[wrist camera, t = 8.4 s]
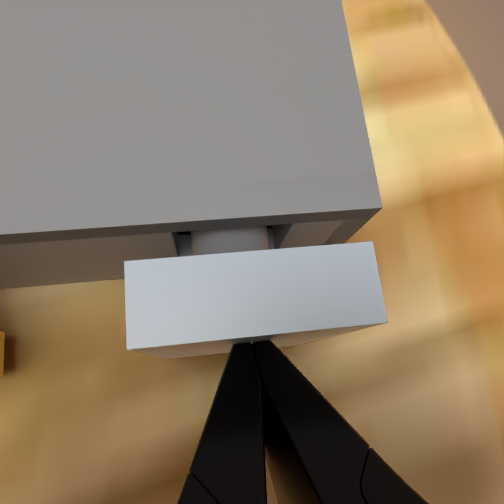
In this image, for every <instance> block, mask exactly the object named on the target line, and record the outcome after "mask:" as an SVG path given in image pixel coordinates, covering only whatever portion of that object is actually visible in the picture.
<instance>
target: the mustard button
mask: <svg viewBox="0 0 504 504" xmlns="http://www.w3.org/2000/svg"><path fill="white" fill-rule="evenodd" d="M4 341H5V332H2V331H0V378H3V366H4Z"/></svg>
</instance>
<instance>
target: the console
mask: <svg viewBox="0 0 504 504" xmlns="http://www.w3.org/2000/svg"><path fill="white" fill-rule="evenodd" d="M381 208H382V204H381V198H380V193H379V188H378V183H377V178H376V173H375V168H374V163H373V158H372V153H371V148H370V143H369V138H368V133H367V128H366V123H365V118H364V113H363V108H362V103H361V98H360V93H359V88H358V83H357V77H356V72H355V67H354V62H353V57H352V52H351V47H350V42H349V37H348V32H347V27H346V22H345V17H344V12H343V7H342V2H341V0H0V289H5V288H17V287H29V286H40V285H52V284H64V283H76V282H88V281H99V280H111V279H123V278H125V275H124V261H133V260H145V259H158V258H170V257H183V256H192V243H191V234H187V235H178V234H177V232H184V231H198V230H211V229H225V228H239V227H253V226H266V225H273V227H272V228H268V229H267V236H268V244H269V250H271V249H283V248H296V247H308V246H321V245H333V244H344V243H345V242H346V241H347V240H348V239H349V238H350V237H351V236H352V235H354V234H355V233H356V232H357V231H358V230H359V229H360V228H361V227H362V226H363V225H364V224H365V223H366V222H368V221H369V220H370V219H371V218H372V217H373V216H374V215H375V214H376V213H377V212H378V211H379V210H380V209H381Z"/></svg>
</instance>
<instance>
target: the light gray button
mask: <svg viewBox="0 0 504 504" xmlns="http://www.w3.org/2000/svg"><path fill="white" fill-rule="evenodd" d="M191 243H192V256H183V257H170V258H158V259H145V260H133V261H124V275H125V307H126V338H127V350H131V351H136V352H141V353H145V354H150V355H155V356H160V357H164V358H169V359H175V358H184V357H193V356H203V355H212V354H221V353H230V351H231V348H232V346H233V344H237V343H246V342H250V343H251V344H252V343H253V342H256V341H265V340H270V341H272V342H273V343H274V344H275V346H276V347H286V346H295V345H301V344H305V343H309V342H313V341H316V340H320V339H324V338H328V337H332V336H336V335H340V334H344V333H348V332H352V331H356V330H360V329H364V328H368V327H372V326H376V325H380V324H384V323H387V322H388V321H387V315H386V310H385V305H384V299H383V294H382V289H381V283H380V278H379V273H378V267H377V262H376V257H375V252H374V246H373V241H371V242H358V243H346V244H333V245H321V246H308V247H296V248H283V249H271V250H269V244H268V236H267V228H266V226H253V227H239V228H225V229H211V230H198V231H191Z"/></svg>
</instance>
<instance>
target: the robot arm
mask: <svg viewBox="0 0 504 504" xmlns="http://www.w3.org/2000/svg"><path fill="white" fill-rule="evenodd" d="M265 456H266V459H267V463H268V467H269V471H270V474H271V478H272V482H273V485H274V489H275V493H276V497H277V500H278V504H429V503H427V502H426V501H425V500H424V499H423V498H422V497H421V496H420V495H419V494H418V493H416V492H415V491H414V490H413V489H412V488H411V487H410V486H409V485H408V484H407V483H406V482H405V481H404V480H403V479H402V478H401V477H400V476H399V475H398V474H397V473H396V472H395V471H394V470H393V469H392V468H391V467H390V466H389V465H388V464H387V463H386V462H385V461H384V460H383V459H382V458H381V457H380V456H379V455H378V454H377V453H376V452H375V450H374V449H373V448H370V449H369V444H368V443H367V442H366V441H365V440H364V439H363V438H362V437H361V436H360V435H359V434H358V433H357V432H356V430H355V429H354V428H353V427H352V426H351V425H350V424H349V423H348V422H347V421H346V420H345V419H344V418H343V417H342V416H341V415H340V413H339V412H338V411H337V410H336V409H335V408H334V407H333V406H332V405H331V404H330V403H329V402H328V401H327V400H326V399H325V398H324V397H323V395H322V394H321V393H320V392H319V391H318V390H317V389H316V388H315V387H314V386H313V385H312V384H311V383H310V382H309V381H308V380H307V378H306V377H305V376H304V375H303V374H302V373H301V372H300V371H299V370H298V369H297V368H296V367H295V366H294V365H293V364H292V363H291V361H290V360H289V359H288V358H287V357H286V356H285V355H284V354H283V353H282V352H281V351H280V350H279V349H278V348H277V347H276V346H275V344H274V343H273V342H272V341H270V340H265V341H256V342H253V343H252V344H251V343H250V342H246V343H237V344H233V346H232V348H231V351H230V354H229V357H228V359H227V362H226V365H225V368H224V371H223V374H222V377H221V380H220V383H219V385H218V388H217V391H216V394H215V397H214V400H213V403H212V406H211V409H210V411H209V414H208V417H207V420H206V423H205V426H204V429H203V432H202V435H201V437H200V440H199V443H198V446H197V449H196V452H195V455H194V458H193V461H192V464H191V466H190V469H189V474H188V475H187V477H186V480H185V483H184V486H183V489H182V492H181V494H180V497H179V500H178V502H177V504H267V491H266V467H265Z"/></svg>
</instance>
